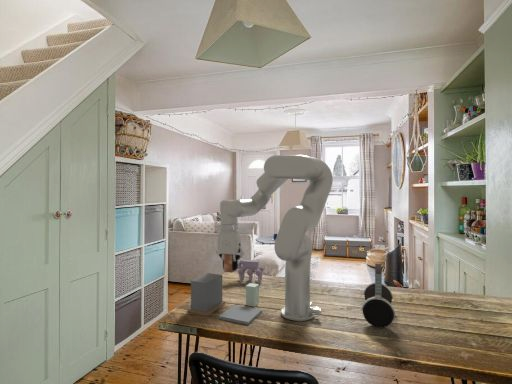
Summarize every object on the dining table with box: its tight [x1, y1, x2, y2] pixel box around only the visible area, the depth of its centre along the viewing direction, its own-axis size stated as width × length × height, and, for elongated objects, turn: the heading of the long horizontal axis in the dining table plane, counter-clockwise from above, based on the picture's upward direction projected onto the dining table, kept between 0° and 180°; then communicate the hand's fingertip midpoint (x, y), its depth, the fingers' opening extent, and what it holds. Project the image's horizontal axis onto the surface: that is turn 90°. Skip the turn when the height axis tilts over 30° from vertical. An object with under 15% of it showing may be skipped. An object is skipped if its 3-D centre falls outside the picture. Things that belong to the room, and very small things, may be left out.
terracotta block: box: [223, 254, 237, 274], centre depth 131 cm, size 4×4×8 cm
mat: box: [218, 304, 263, 326], centre depth 112 cm, size 12×12×1 cm
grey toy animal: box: [236, 256, 265, 285], centre depth 156 cm, size 20×11×14 cm, turn 78°
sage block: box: [245, 282, 260, 308], centre depth 124 cm, size 4×4×8 cm
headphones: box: [361, 262, 396, 328], centre depth 111 cm, size 11×20×20 cm, turn 158°
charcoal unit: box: [187, 273, 226, 316], centre depth 120 cm, size 9×13×12 cm
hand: (230, 268), depth 131 cm, fingers closed on terracotta block, 4 cm apart
